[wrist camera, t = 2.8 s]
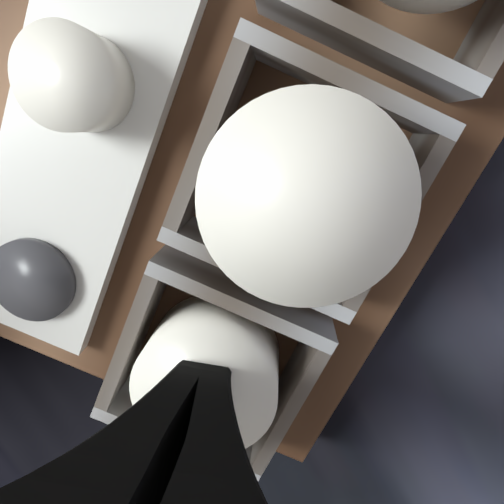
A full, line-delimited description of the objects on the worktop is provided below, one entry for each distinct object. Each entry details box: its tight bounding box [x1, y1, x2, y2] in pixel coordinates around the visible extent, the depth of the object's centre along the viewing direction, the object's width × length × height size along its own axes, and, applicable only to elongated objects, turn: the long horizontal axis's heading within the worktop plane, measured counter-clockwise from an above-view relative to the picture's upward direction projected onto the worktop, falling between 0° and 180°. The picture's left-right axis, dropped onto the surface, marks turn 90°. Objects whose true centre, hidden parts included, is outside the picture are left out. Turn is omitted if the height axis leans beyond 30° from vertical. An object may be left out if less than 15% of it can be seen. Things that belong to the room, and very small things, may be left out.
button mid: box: [195, 84, 422, 308], centre depth 8 cm, size 4×4×2 cm
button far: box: [129, 296, 279, 449], centre depth 12 cm, size 4×4×2 cm
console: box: [0, 0, 504, 481], centre depth 11 cm, size 14×18×4 cm
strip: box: [0, 0, 208, 356], centre depth 10 cm, size 4×16×2 cm, turn 156°
